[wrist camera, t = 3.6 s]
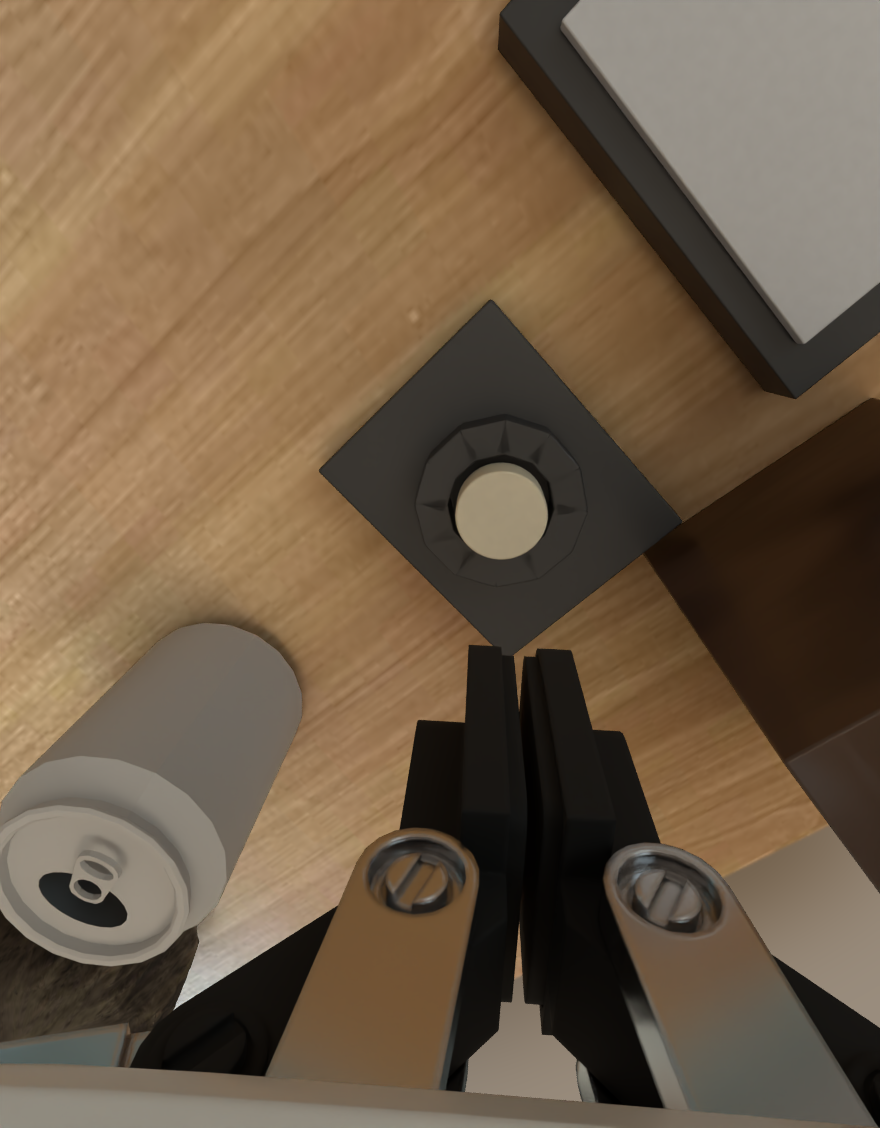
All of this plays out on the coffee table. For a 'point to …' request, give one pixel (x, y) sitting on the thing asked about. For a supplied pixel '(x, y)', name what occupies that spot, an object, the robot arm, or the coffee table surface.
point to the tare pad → (493, 435)
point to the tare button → (501, 511)
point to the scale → (731, 155)
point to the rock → (85, 988)
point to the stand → (799, 614)
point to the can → (148, 798)
